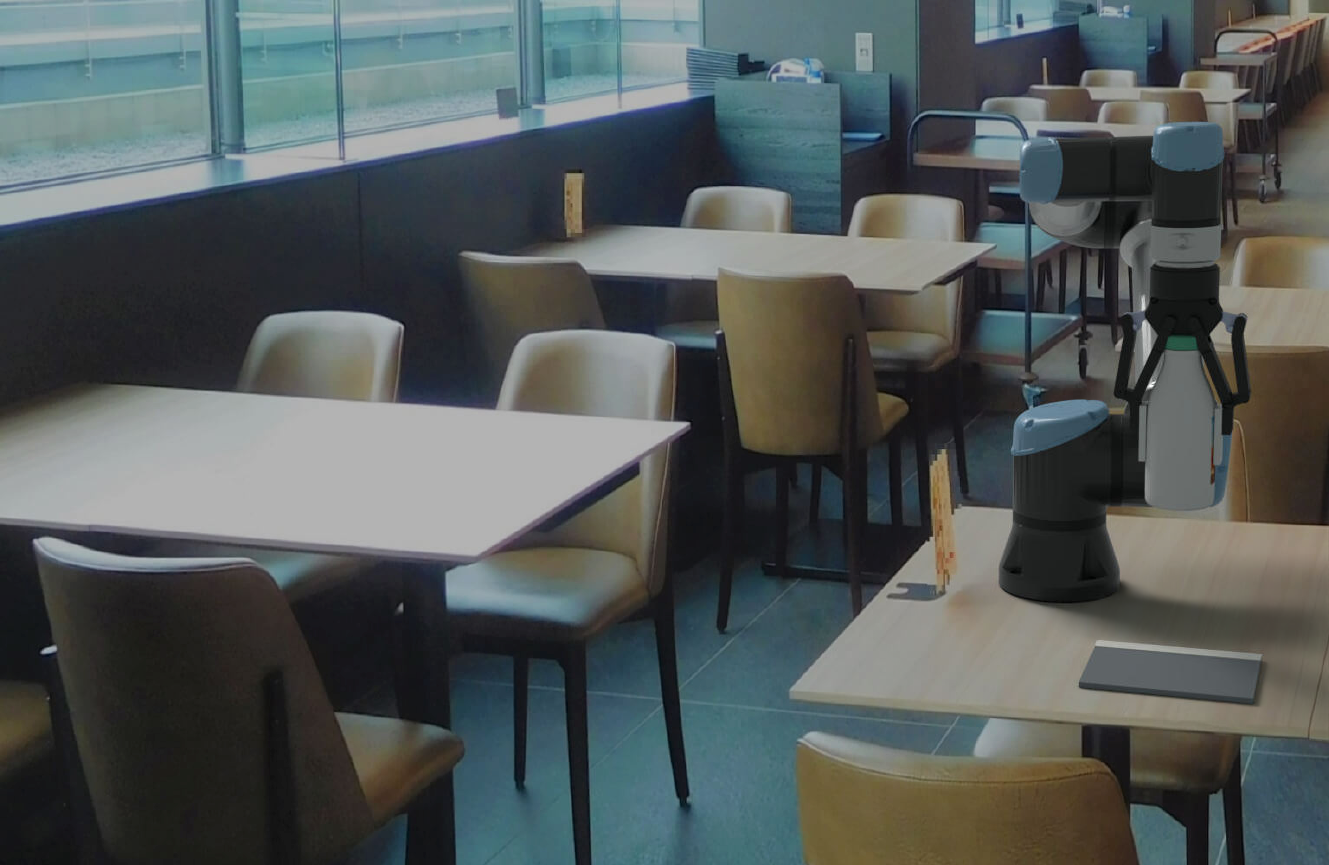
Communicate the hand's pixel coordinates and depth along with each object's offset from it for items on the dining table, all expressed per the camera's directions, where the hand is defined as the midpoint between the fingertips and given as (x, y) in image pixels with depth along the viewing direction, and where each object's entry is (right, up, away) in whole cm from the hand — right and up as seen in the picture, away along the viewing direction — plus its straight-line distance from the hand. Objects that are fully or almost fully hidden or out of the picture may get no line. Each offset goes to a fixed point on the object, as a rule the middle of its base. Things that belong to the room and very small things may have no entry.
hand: (1180, 460), depth 204 cm
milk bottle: (0, -5, +1) cm, 5 cm away
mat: (-4, -23, -9) cm, 25 cm away
